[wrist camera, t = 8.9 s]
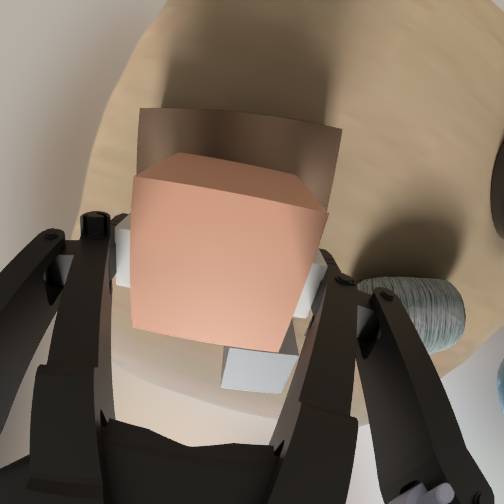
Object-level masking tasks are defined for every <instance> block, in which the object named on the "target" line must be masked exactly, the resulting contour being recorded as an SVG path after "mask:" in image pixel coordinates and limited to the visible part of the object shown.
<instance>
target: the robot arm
mask: <svg viewBox="0 0 504 504" xmlns="http://www.w3.org/2000/svg"><path fill="white" fill-rule="evenodd" d="M491 212H492V218H493V223H494V226H495V229H496V231H497V233H498V234H499V236H500V237H501V238H503V239H504V143H503V145H502V147H501V149H500V151H499V154H498V157H497V160H496V164H495V168H494V172H493V178H492V186H491ZM80 225H81V237H80V239H79V240H65V234H64V231H62V230H59V229H54V228H51V229H47V230H45V231H43V232H41V233H40V234H38V235H37V236H36V237H35V238H34V239H33V240H32V241H31V242H30V243H29V244H28V245H27V246H26V247H25V248H24V249H23V250H22V251H21V252H20V253H18V254H17V256H16V257H15V258H14V259H13V260H12V261H11V262H10V263H9V264H8V265H7V266H6V267H5V268H4V269H3V270H2V271H1V272H0V434H1V432H2V430H3V427H4V425H5V422H6V420H7V417H8V415H9V412H10V409H11V407H12V404H13V401H14V399H15V396H16V394H17V391H18V389H19V386H20V384H21V382H22V379H23V377H24V375H25V373H26V370H27V368H28V366H29V364H30V361H31V360H32V358H33V355H34V353H35V351H36V349H37V347H38V345H39V343H40V341H41V339H42V338H43V336H44V334H45V332H46V330H47V328H48V326H49V324H50V323H51V321H52V319H53V317H54V315H55V314H56V312H57V316H56V320H55V324H54V329H53V334H52V339H51V344H50V350H49V356H48V361H47V364H46V365H39V366H38V368H37V372H36V376H35V383H34V391H33V400H32V411H31V424H30V454H29V455H27V456H25V457H23V458H21V459H19V460H17V461H15V462H13V463H11V464H9V465H7V466H5V467H3V468H1V469H0V504H345V503H346V499H347V494H348V489H349V484H350V479H351V473H352V468H353V462H354V455H355V449H356V441H357V434H358V420H357V418H355V417H351V416H350V410H351V402H352V393H353V383H354V371H355V358H356V362H357V366H358V370H359V375H360V379H361V384H362V388H363V393H364V398H365V403H366V408H367V413H368V418H369V424H370V429H371V435H372V441H373V447H374V453H375V460H376V466H377V474H378V480H379V486H380V491H381V494H382V497H383V501H384V503H385V504H494V494H493V491H492V489H491V487H490V486H489V484H488V482H487V481H486V479H485V477H484V476H483V474H482V472H481V470H480V469H479V467H478V466H477V464H476V462H475V461H474V459H473V458H472V456H471V455H470V453H469V451H468V450H467V448H466V446H465V443H464V440H463V437H462V434H461V431H460V428H459V425H458V423H457V420H456V417H455V414H454V412H453V409H452V407H451V404H450V402H449V399H448V397H447V394H446V392H445V389H444V388H443V385H442V382H441V380H440V378H439V376H438V373H437V371H436V369H435V367H434V365H433V362H432V360H431V358H430V356H429V354H428V352H427V350H426V348H425V346H424V344H423V342H422V340H421V338H420V336H419V334H418V332H417V330H416V328H415V326H414V324H413V322H412V320H411V318H410V317H409V315H408V313H407V311H406V309H405V307H404V306H403V304H402V302H401V300H400V298H399V297H398V296H397V295H396V294H395V293H394V292H393V291H392V290H390V289H388V288H384V287H376V288H375V289H374V291H373V293H372V295H371V294H368V293H365V292H362V291H359V290H358V285H357V282H356V281H355V280H354V279H353V278H351V277H350V276H348V275H346V274H343V273H341V271H340V269H339V267H338V266H337V264H336V262H335V261H334V258H333V257H332V255H331V254H330V253H329V252H327V251H326V250H324V249H319V248H317V251H316V254H315V257H314V260H313V263H312V266H311V268H310V271H309V274H308V277H307V280H306V282H305V285H304V288H303V290H302V293H301V296H300V299H299V301H298V304H297V307H296V309H295V312H294V314H293V317H298V318H306V319H307V317H308V315H309V312H310V310H311V309H312V312H313V316H312V319H311V321H310V323H309V326H308V328H307V330H306V333H305V336H306V338H305V341H304V344H303V348H302V351H301V354H300V357H299V361H298V364H297V367H296V370H295V373H294V376H293V379H292V382H291V385H290V388H289V391H288V394H287V397H286V400H285V403H284V406H283V408H282V411H281V414H280V417H279V419H278V422H277V425H276V428H275V430H274V433H273V436H272V438H271V441H270V443H269V445H251V444H237V443H231V444H222V445H213V446H212V445H211V446H199V447H189V446H185V445H182V444H180V443H177V442H175V441H173V440H171V439H168V438H166V437H164V436H162V435H160V434H157V433H155V432H153V431H151V430H149V429H146V428H142V427H139V426H134V425H131V424H127V423H124V422H120V421H117V420H115V412H114V401H113V388H112V372H111V371H112V370H111V307H112V278H113V277H114V276H115V274H116V285H120V286H124V287H128V288H130V225H131V213H130V214H125V213H122V214H120V215H117V216H115V217H114V218H113V219H112V220H111V221H110V215H109V214H108V213H105V212H101V211H92V212H87V213H85V214H83V215H81V217H80ZM57 310H58V311H57ZM497 388H498V395H499V400H500V404H501V407H502V411H503V413H504V359H503V361H502V363H501V365H500V367H499V370H498V376H497Z"/></svg>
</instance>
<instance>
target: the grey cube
mask: <svg viewBox="0 0 504 504" xmlns="http://www.w3.org/2000/svg"><path fill="white" fill-rule="evenodd" d="M298 356H299V354H298V348H297V343H296V338H295V332H294V327H293V322H292V320H291V322H290V325H289V327H288V330H287V332H286V335H285V337H284V340H283V342H282V345H281V347H280V349H279V352H278V353H277V352H268V351H260V350H252V349H245V348H238V347H231V346H224V351H223V363H222V374H221V386H220V387H221V388H228V389H235V390H244V391H253V392H264V393H276V394H280V393H281V391H282V389H283V387H284V385H285V383H286V381H287V379H288V377H289V375H290V373H291V371H292V369H293V367H294V365H295V363H296V361H297V359H298Z"/></svg>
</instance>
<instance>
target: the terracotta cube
mask: <svg viewBox="0 0 504 504" xmlns="http://www.w3.org/2000/svg"><path fill="white" fill-rule="evenodd" d="M328 215H329V213H328V212H327V211H326V210H325V208H324V207H323V206H322V205H321V204H320V202H319V201H318V200H317V199H316V198H315V196H314V195H313V194H312V193H311V192H310V190H309V189H308V188H307V187H306V186H305V185H304V183H303V182H302V181H301V180H300V179H299V178H298V177H297V175H293V174H289V173H285V172H281V171H276V170H272V169H267V168H263V167H258V166H253V165H249V164H244V163H239V162H233V161H228V160H223V159H217V158H211V157H205V156H199V155H193V154H187V153H180V152H178V153H176V154H174V155H172V156H170V157H168V158H166V159H165V160H163V161H161V162H159V163H157V164H155V165H153V166H151V167H150V168H148V169H146V170H144V171H142V172H141V173H139V174H137V175H135V176H134V180H133V191H132V206H131V225H130V298H131V318H132V327H134V328H138V329H143V330H147V331H151V332H156V333H160V334H165V335H170V336H175V337H180V338H185V339H190V340H195V341H201V342H206V343H212V344H218V345H224V346H231V347H238V348H245V349H252V350H260V351H268V352H277V353H278V352H279V349H280V347H281V345H282V342H283V340H284V337H285V335H286V332H287V330H288V327H289V325H290V322H291V320H292V317H293V314H294V312H295V309H296V307H297V304H298V301H299V299H300V296H301V293H302V290H303V288H304V285H305V282H306V280H307V277H308V274H309V271H310V268H311V266H312V263H313V260H314V257H315V254H316V251H317V248H318V245H319V242H320V239H321V236H322V233H323V230H324V227H325V224H326V221H327V218H328Z"/></svg>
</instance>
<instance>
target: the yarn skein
mask: <svg viewBox="0 0 504 504" xmlns="http://www.w3.org/2000/svg"><path fill="white" fill-rule="evenodd" d="M357 285H358V290H359V291H362V292H365V293H368V294H371V295H372V293H373V291H374V289H375V288H376V287H384V288H388V289H390V290H392V291H393V292H394V293H395V294H396V295H397V296H398V297H399V298H400V300H401V302H402V304H403V306H404V307H405V309H406V311H407V313H408V315H409V317H410V318H411V320H412V322H413V324H414V326H415V328H416V330H417V332H418V334H419V336H420V338H421V340H422V342H423V344H424V346H425V348H426V350H427V352H428V354H429V355H430V354H433V353H436V352H439V351H442V350H445V349H449V348H451V347H452V346H453V345H454V344H456V343H457V341H458V340H459V339H460V338H461V336H462V334H463V332H464V327H465V319H466V315H465V308H464V303H463V300H462V297H461V295H460V293H459V292H458V290H457V289H456V288H455V287H454V286H453V285H452V284H451V283H450V282H448V281H446V280H443V279H433V278H414V277H385V276H384V277H377V278H369V279H365V280H362V281H361V282H359V283H358V284H357Z"/></svg>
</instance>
